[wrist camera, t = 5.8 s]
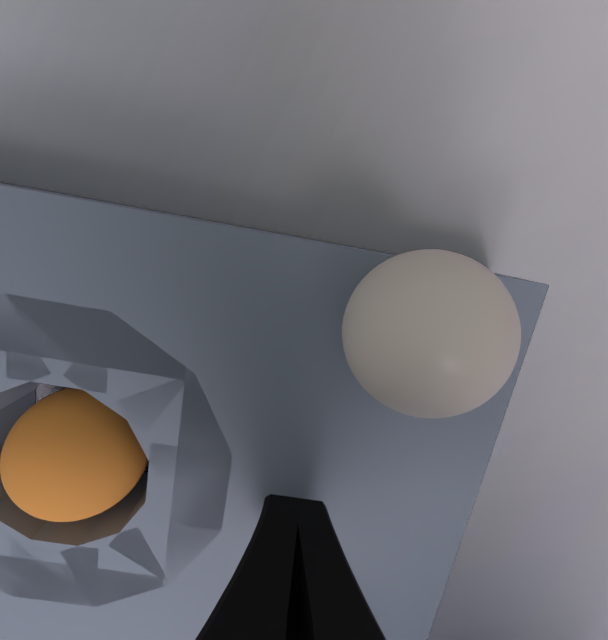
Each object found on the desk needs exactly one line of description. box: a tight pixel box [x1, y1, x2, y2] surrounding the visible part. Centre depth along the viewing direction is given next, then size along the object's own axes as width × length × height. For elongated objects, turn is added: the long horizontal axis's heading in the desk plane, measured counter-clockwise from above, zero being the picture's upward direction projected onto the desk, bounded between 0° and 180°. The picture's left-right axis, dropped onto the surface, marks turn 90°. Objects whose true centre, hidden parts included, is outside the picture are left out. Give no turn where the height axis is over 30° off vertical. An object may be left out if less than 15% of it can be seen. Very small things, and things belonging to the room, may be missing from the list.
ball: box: [0, 388, 148, 522], centre depth 10 cm, size 3×3×3 cm
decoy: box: [342, 249, 521, 419], centre depth 7 cm, size 3×3×3 cm
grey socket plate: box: [0, 183, 549, 640], centre depth 10 cm, size 15×13×2 cm
